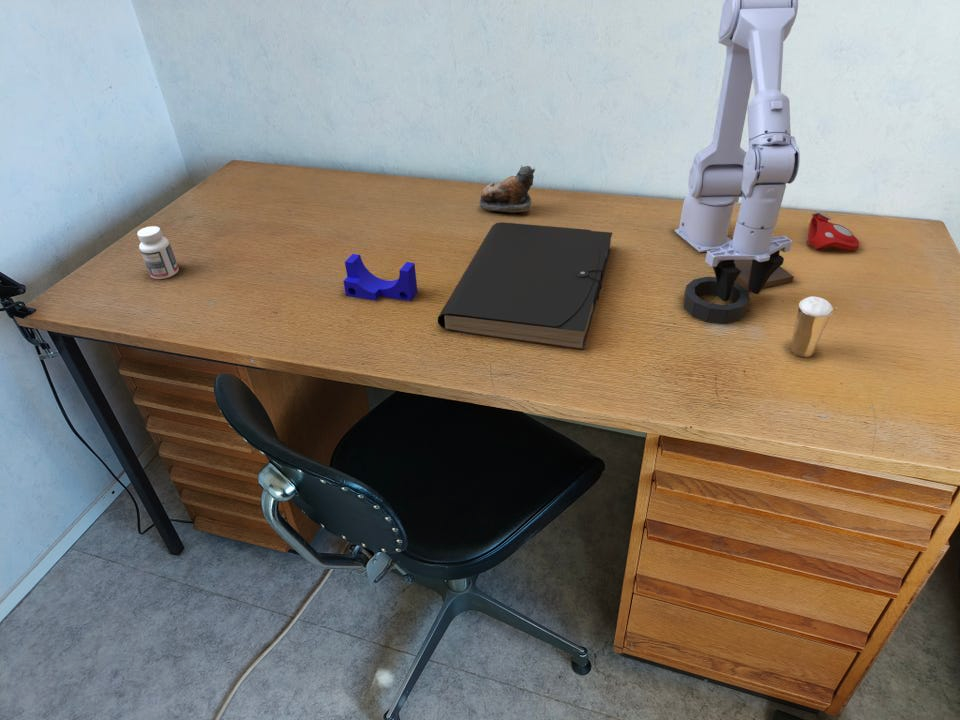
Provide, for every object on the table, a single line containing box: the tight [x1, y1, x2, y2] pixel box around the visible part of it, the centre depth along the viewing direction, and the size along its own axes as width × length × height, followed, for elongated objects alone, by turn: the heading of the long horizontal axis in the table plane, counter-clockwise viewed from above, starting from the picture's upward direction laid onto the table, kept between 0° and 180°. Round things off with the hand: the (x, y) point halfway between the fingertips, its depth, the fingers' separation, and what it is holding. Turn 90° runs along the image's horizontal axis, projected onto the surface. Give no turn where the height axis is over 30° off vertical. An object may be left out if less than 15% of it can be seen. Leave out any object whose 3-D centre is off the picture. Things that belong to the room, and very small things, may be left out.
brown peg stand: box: [734, 260, 794, 292], centre depth 117 cm, size 9×9×7 cm
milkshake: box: [789, 295, 839, 358], centre depth 98 cm, size 5×5×10 cm
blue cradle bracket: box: [342, 253, 419, 302], centre depth 116 cm, size 12×4×6 cm, turn 71°
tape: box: [683, 276, 751, 325], centre depth 110 cm, size 10×10×3 cm
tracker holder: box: [806, 210, 860, 251], centre depth 127 cm, size 12×4×10 cm
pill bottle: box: [136, 225, 180, 280], centre depth 123 cm, size 5×5×9 cm
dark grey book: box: [437, 221, 613, 350], centre depth 117 cm, size 33×4×24 cm
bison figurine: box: [478, 165, 536, 213], centre depth 139 cm, size 12×7×10 cm, turn 74°
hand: (738, 294), depth 111 cm, fingers open, 5 cm apart
